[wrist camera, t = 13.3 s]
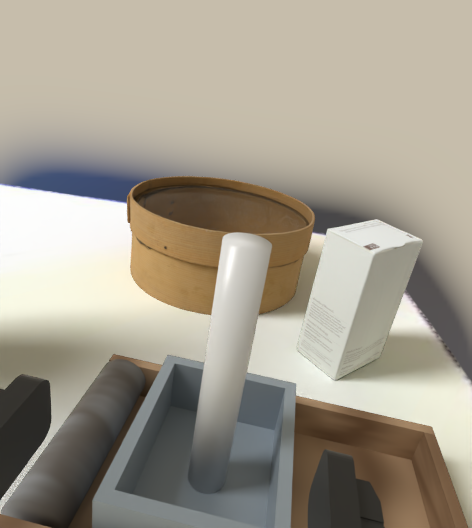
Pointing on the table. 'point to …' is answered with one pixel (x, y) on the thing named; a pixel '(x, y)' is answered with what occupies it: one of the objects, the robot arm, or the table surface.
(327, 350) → the skincare box
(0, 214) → the table surface
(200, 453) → the tray with upright post
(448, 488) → the bay
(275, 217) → the steamer basket
